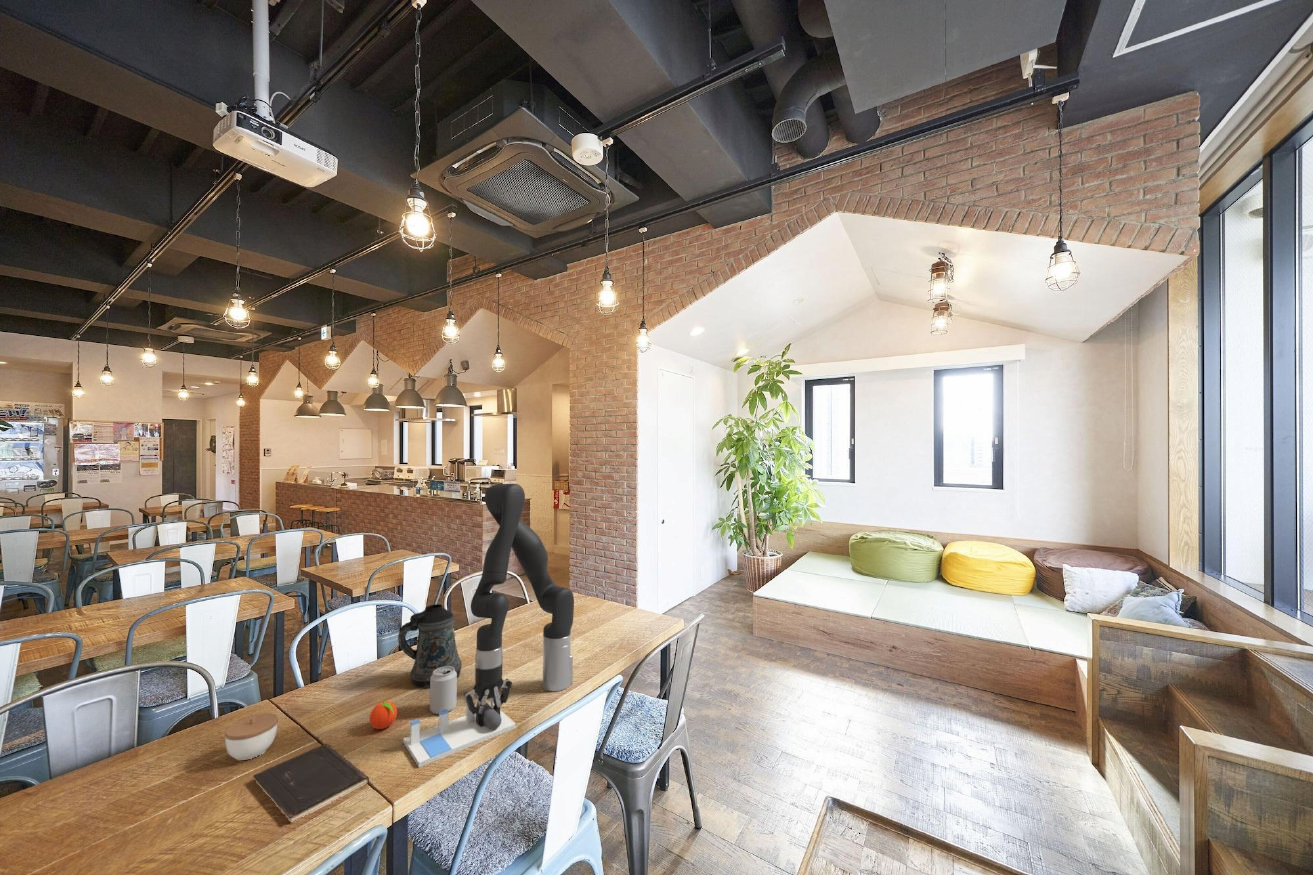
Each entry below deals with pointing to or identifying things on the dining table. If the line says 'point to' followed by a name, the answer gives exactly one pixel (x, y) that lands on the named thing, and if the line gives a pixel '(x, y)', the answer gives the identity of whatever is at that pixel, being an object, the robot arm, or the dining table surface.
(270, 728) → the lidded jar
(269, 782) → the hardcover book
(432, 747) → the white peg board
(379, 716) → the clementine
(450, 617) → the beer stein
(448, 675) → the can
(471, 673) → the dining table surface
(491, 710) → the dark grey rounded cylinder
